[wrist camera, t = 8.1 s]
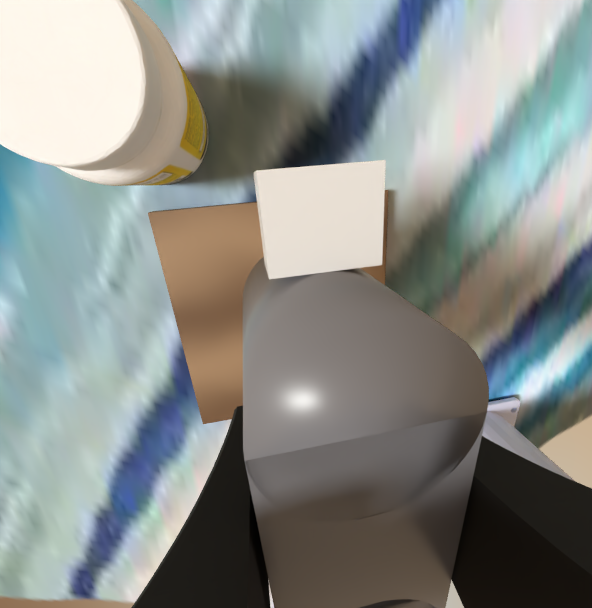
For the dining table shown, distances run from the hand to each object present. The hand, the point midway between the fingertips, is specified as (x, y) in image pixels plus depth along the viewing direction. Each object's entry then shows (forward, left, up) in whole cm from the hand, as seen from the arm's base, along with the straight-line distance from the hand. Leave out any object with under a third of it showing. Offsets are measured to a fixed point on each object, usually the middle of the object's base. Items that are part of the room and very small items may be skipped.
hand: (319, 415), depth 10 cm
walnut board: (0, 0, -9) cm, 9 cm away
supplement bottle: (+10, +5, -9) cm, 14 cm away
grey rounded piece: (+1, 0, -2) cm, 2 cm away
